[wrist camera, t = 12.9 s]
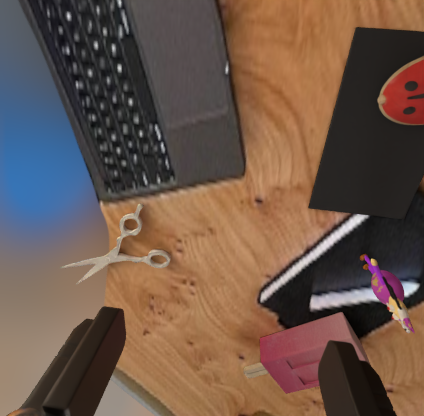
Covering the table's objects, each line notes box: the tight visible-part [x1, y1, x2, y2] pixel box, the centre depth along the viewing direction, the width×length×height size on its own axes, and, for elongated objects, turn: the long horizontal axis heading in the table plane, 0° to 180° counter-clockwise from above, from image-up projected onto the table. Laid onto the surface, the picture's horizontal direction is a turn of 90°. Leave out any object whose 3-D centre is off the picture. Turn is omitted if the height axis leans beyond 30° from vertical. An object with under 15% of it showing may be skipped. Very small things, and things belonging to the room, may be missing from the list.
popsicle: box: [244, 312, 370, 394], centre depth 46 cm, size 9×5×20 cm
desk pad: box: [309, 27, 424, 219], centre depth 31 cm, size 20×12×1 cm, turn 176°
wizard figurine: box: [360, 254, 414, 333], centre depth 33 cm, size 11×3×12 cm, turn 32°
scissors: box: [61, 203, 171, 284], centre depth 43 cm, size 11×1×20 cm
